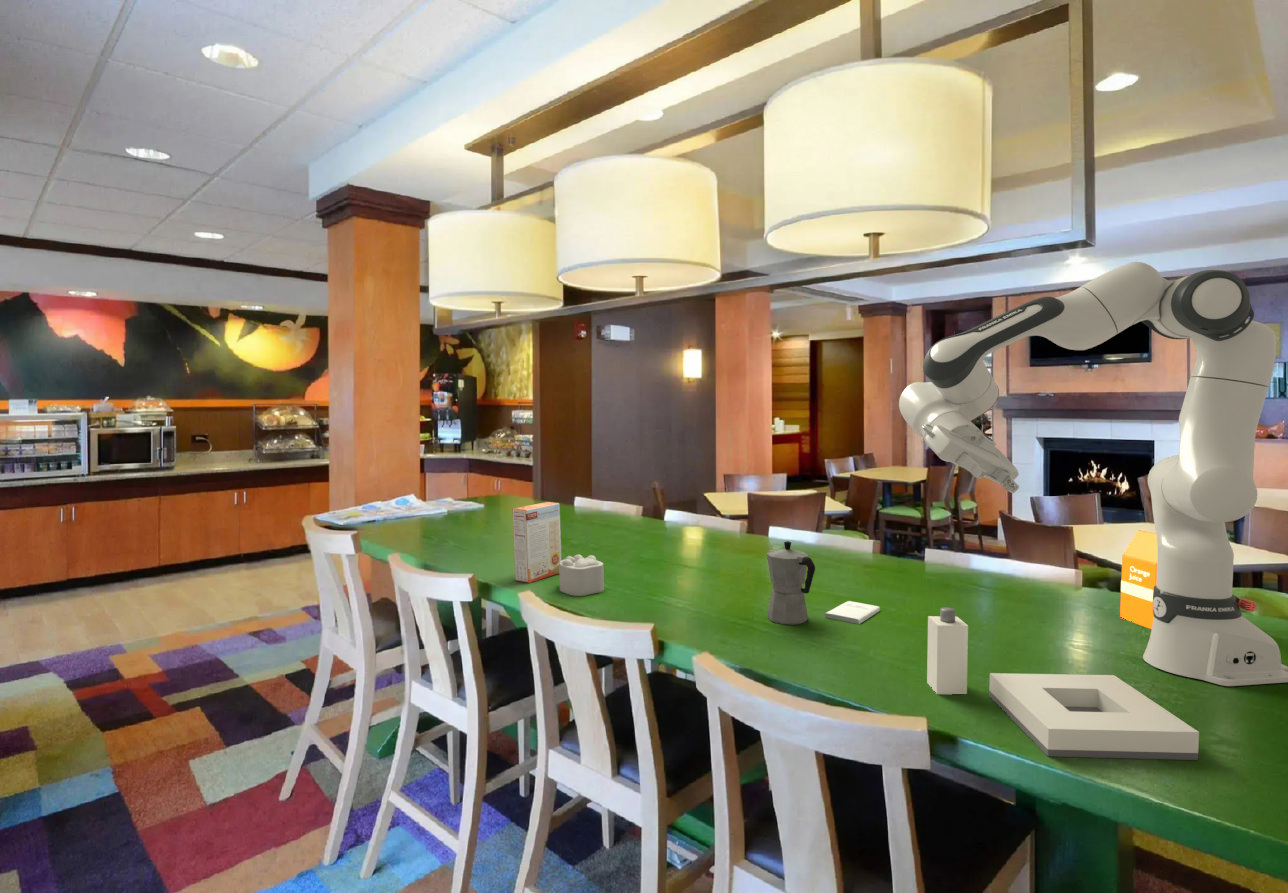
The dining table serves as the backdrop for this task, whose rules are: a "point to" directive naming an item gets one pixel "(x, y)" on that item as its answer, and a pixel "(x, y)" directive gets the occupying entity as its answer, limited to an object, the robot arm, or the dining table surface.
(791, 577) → the coffeepot
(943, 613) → the plug
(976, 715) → the dining table surface
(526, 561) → the cracker box
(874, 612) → the external hard drive
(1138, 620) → the orange juice
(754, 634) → the dining table surface
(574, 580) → the lumpy-topped squat cylinder
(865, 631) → the dining table surface
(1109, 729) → the socket block
